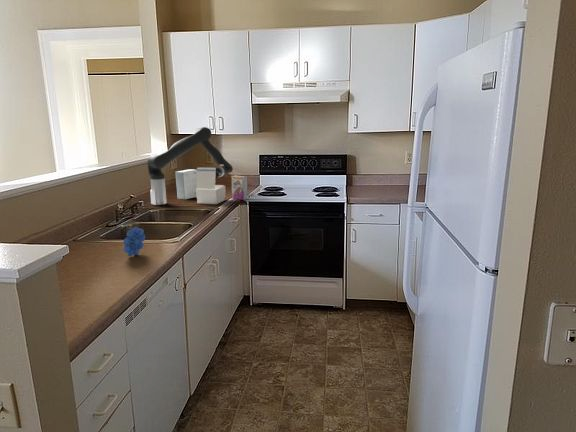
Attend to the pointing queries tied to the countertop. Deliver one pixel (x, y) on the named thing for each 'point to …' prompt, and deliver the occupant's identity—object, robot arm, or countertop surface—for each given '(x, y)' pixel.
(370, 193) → the countertop surface
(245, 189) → the candy bar box
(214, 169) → the flap
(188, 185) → the hard drive box
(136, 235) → the grapes
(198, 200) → the carton
